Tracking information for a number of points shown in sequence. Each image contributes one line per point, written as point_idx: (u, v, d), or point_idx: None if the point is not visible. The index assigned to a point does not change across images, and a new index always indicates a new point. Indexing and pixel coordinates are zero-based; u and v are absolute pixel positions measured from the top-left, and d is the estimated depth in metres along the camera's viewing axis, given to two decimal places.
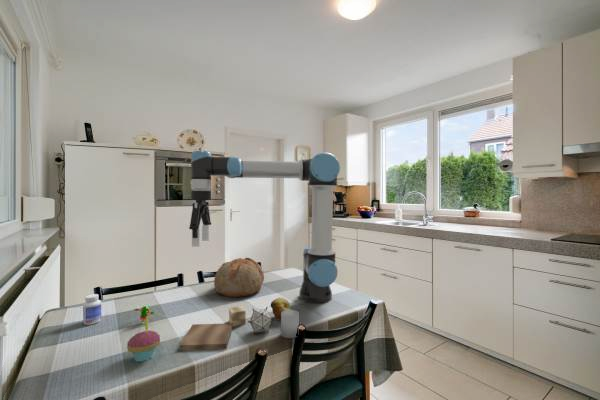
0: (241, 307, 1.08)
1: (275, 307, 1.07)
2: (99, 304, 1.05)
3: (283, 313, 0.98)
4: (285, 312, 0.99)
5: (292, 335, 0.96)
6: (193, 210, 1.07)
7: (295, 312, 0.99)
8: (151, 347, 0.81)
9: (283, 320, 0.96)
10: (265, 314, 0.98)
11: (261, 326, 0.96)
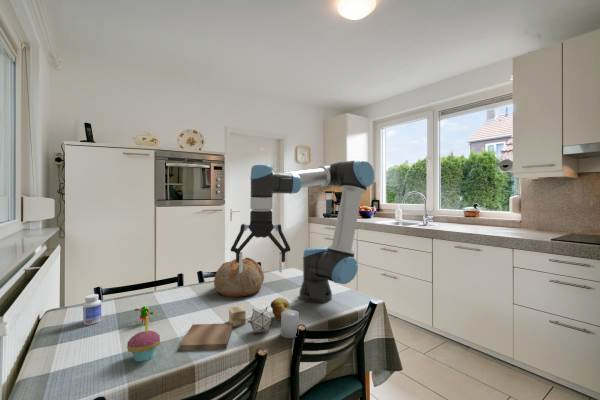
0: (241, 307, 1.08)
1: (275, 307, 1.07)
2: (99, 304, 1.05)
3: (283, 313, 0.98)
4: (285, 312, 0.99)
5: (292, 335, 0.96)
6: None
7: (295, 312, 0.99)
8: (151, 347, 0.81)
9: (283, 320, 0.96)
10: (265, 314, 0.98)
11: (261, 326, 0.96)
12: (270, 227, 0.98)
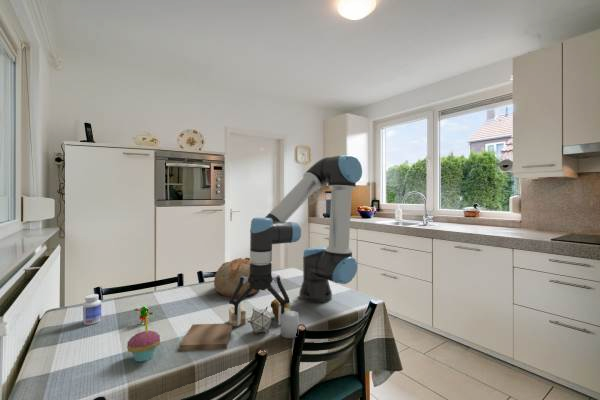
0: (241, 307, 1.08)
1: (275, 307, 1.07)
2: (99, 304, 1.05)
3: (283, 314, 0.98)
4: (285, 313, 0.99)
5: (292, 336, 0.96)
6: None
7: (295, 313, 0.99)
8: (151, 347, 0.81)
9: (283, 321, 0.96)
10: (265, 314, 0.98)
11: (261, 326, 0.96)
12: (269, 280, 0.98)
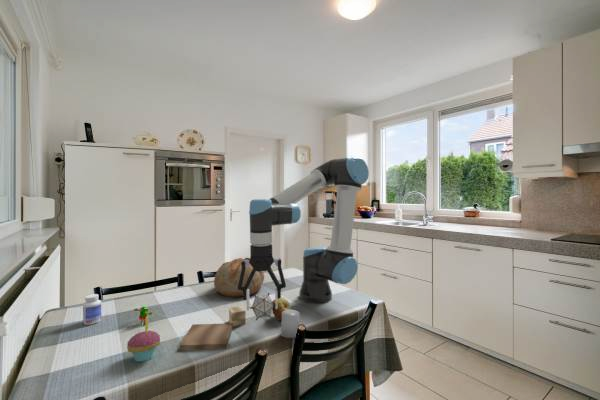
0: (241, 307, 1.08)
1: None
2: (99, 304, 1.05)
3: (284, 313, 0.98)
4: (286, 312, 0.99)
5: (292, 335, 0.96)
6: None
7: (296, 312, 0.99)
8: (151, 347, 0.81)
9: (284, 320, 0.96)
10: (267, 300, 0.98)
11: (263, 311, 0.96)
12: (270, 261, 0.98)
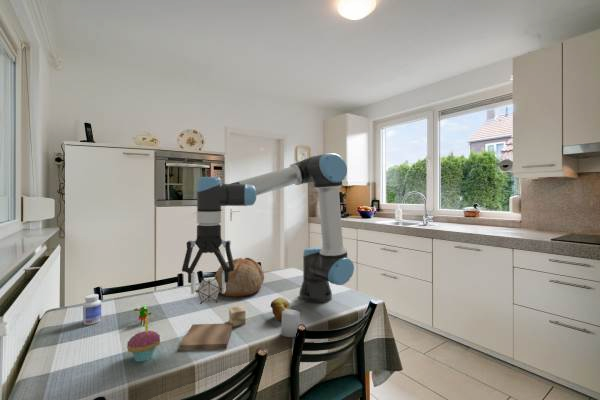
0: (241, 307, 1.08)
1: (275, 307, 1.07)
2: (99, 304, 1.05)
3: (284, 312, 0.98)
4: (286, 311, 0.99)
5: (293, 334, 0.96)
6: None
7: (295, 311, 1.00)
8: (151, 347, 0.81)
9: (284, 319, 0.96)
10: (213, 283, 0.93)
11: (208, 295, 0.91)
12: (218, 242, 0.93)
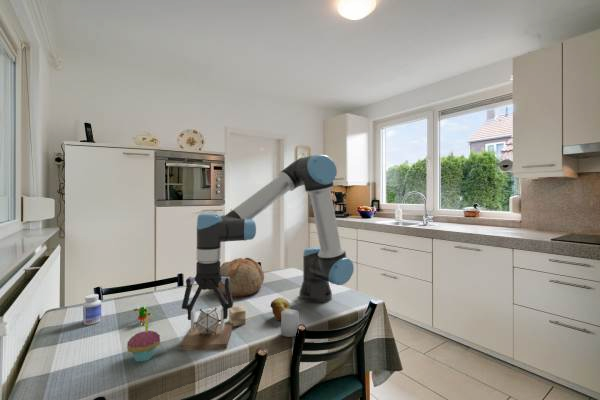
0: (241, 307, 1.08)
1: (275, 307, 1.07)
2: (99, 304, 1.05)
3: (283, 313, 0.98)
4: (285, 312, 0.99)
5: (294, 333, 0.96)
6: None
7: (294, 311, 1.00)
8: (151, 347, 0.81)
9: (285, 319, 0.96)
10: (212, 315, 0.93)
11: (206, 327, 0.91)
12: (217, 279, 0.94)
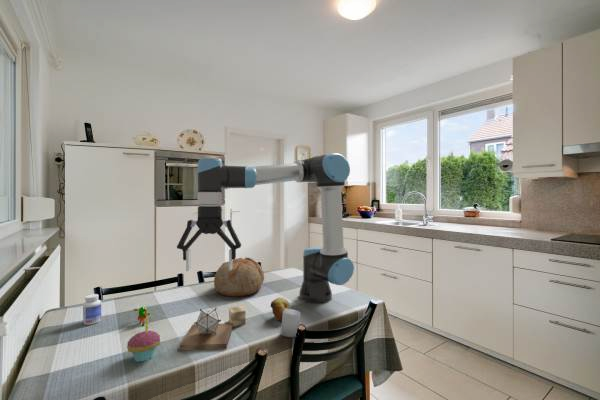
0: (241, 307, 1.08)
1: (275, 307, 1.07)
2: (99, 304, 1.05)
3: (286, 313, 0.97)
4: (286, 312, 0.98)
5: None
6: None
7: (294, 310, 1.00)
8: (151, 347, 0.81)
9: (289, 320, 0.95)
10: (212, 315, 0.93)
11: (206, 327, 0.91)
12: (219, 223, 0.94)
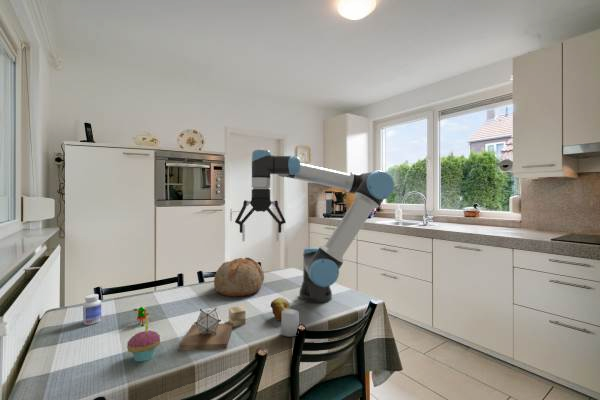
0: (241, 307, 1.08)
1: (275, 307, 1.07)
2: (99, 304, 1.05)
3: (286, 313, 0.97)
4: (285, 312, 0.98)
5: None
6: None
7: (291, 310, 1.01)
8: (151, 347, 0.81)
9: (291, 319, 0.96)
10: (212, 315, 0.93)
11: (206, 327, 0.91)
12: (268, 203, 1.16)
